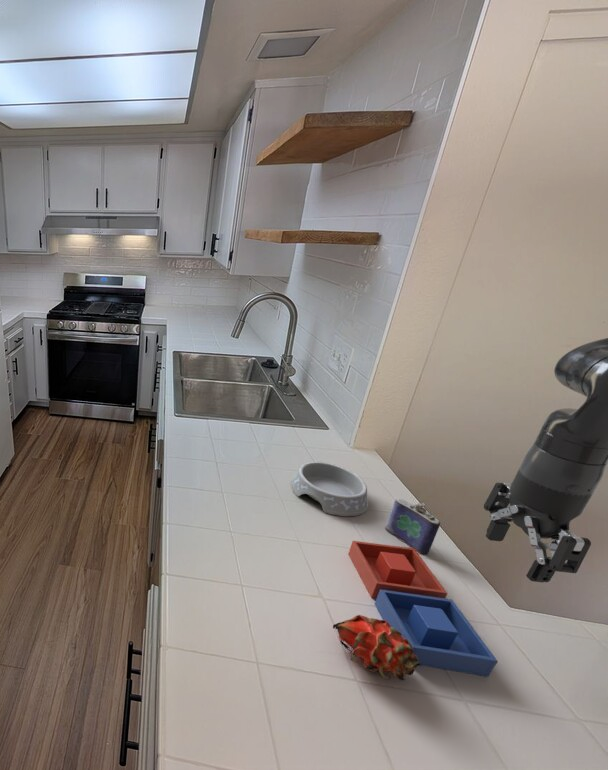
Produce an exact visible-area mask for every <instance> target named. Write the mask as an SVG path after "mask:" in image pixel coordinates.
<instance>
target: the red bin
mask: <svg viewBox="0 0 608 770" xmlns="http://www.w3.org/2000/svg"><path fill="white" fill-rule="evenodd" d="M380 552H387V553H395V554H403V555H405V557H406V558H407V560H408V561H409V563H410V564H411V566H412V567H413V568H414V570H415V571H416V573H415V576H414V578H413V580H412V583H411V585H410V586H407V585H400V584H393V583H386V582H383V581H382V579H381V577H380V576H379V574H378V572H377V570H376V569H375V564H376V562H377V559H378V556H379V554H380ZM347 554H348V557H349V558H350V560H351V562H352V564H353V566H354V568H355V570H356V572H357V574H358V575H359V577H360V580H361V581H362V584H363V585H364V587H365V589H366V590H367V592H368V594H369V596H370V598H371V599H377V596H378V594H379V591H380V589H381V590H388V591H395V592H402V593H409V594H416V595H423V596H430V597H437V598H444V599H446V597H447V595H448V592H447V591H446V589H445V588H444V586H443V585H442V584H441V583H440V581H439V580H438V578H437V577H436V575H435V574H434V573H433V572H432V570H431V569H430V568H429V566H428V565H427V564H426V562H425V561H424V559H423V558H422V557H421V556H420V553H418V552H417V551H416V550H415V549H414V548H412V547H406V546H397V545H390V544H383V543H375V542H367V541H357V540H352V541H351V545H350V548H349V551H348V553H347Z"/></svg>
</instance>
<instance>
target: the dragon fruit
mask: <svg viewBox="0 0 608 770" xmlns="http://www.w3.org/2000/svg"><path fill="white" fill-rule="evenodd" d="M332 629H335V630H337V632H338V635H339V636H338V640H339V642H340V644H341V645H342V646H343V647H344V648H345V649H346V650H347V651H349V655H350V660H351V661H352V662H354V663H358V661H357V658H361V659H362V660H363V662H364V663H363V668H364V669H366V670H367V671H369V672H370V671H371V672H374V673H375V672H377V671H379V672H378V673H379V674H380V675H381V677H382V678H383V679H385V680H390V679H391V675H387V676H386V674H387V673H388V672H389V671H390V672H391V673H392V674H393V676H394V677H395V678H397V679H398V680H399V681H405V680H406V679H405V675H407V676H412V675H413V674H414V672H415V670H416V669H415V668H417V667H421V665H420V663H419V661H418V658H417V656H416V655H415V654H413V652H414V651H413V647H412V645H411V644H410V643H409V641H408V640H407V639H406V638H404V639H403V638H402V634H401V633H400V632H399V631H397V630H396V629H395V628H393V627H391V626H390V625H389V623H388V622H387V621H385V620H383V619H378V618H371V617H368V616H365V615H362V614H357V615H355V616H354V617H352V618H349V619H345V620H344V621H343V620H342V621H339V622H337V623H335V624H333V625H332ZM335 630H334V632H335ZM351 649H352V650H351ZM370 666H373V667H370Z"/></svg>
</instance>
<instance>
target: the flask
mask: <svg viewBox="0 0 608 770" xmlns="http://www.w3.org/2000/svg"><path fill="white" fill-rule="evenodd" d="M424 506H426V503H424V502H421V501H419V502H418V503H414V504H413V503H411V502H409V501H407V500H405V499H403V498H396V499H395V500H394V502H393V506H392V509H391V511H390V514H389V516H388V519H387V521H386V524H385V527H384V529H385V531H387V532H388V533H389V534H390V535H392V536H394V537H395V538H397V540H399V541H401V542H403V543H405V544H406V545H407V546H409V547H410V548H414V549H415V550H416V552H417V553H418V554H419V555H420V554H421V555H423V556H426V555H429V552H430V551H431V549H432V545H433V542H434V540H435V538H436V536H437V533H438V531H439V528H440V526H441V522H440V520H439V519H437V518H436V517H435V516H434V515H433V514H430V513H429V512H427V509H426V508H424Z"/></svg>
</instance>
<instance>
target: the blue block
mask: <svg viewBox="0 0 608 770" xmlns="http://www.w3.org/2000/svg"><path fill="white" fill-rule="evenodd" d="M406 622H407V623H408V625H409V627H410V629H411V630H412V632H413V634H414V635H415V637H416V639H417V641H418V642H419V644H420V645H422V646H428V647H434V648H440V649H446V650H449V649H450V647H451V645H452V644H453V642H454V640H455V638H456V636H457V634H458V632H457V630H456V629H455V627H454V626H453V624H452V623H451V622H450V620H449V619H448V617H447V616H446V614H445V613H444V611H443V610H442V609H439V608H432V607H425V606H419V605H414V606H413V608H412V610H411V612H410V614H409V617H408V619H407V621H406Z"/></svg>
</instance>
